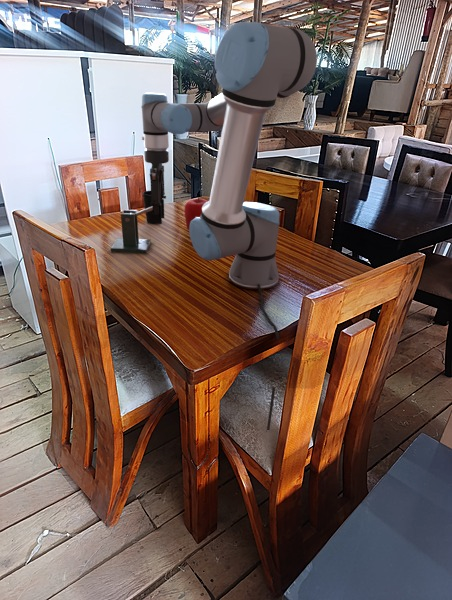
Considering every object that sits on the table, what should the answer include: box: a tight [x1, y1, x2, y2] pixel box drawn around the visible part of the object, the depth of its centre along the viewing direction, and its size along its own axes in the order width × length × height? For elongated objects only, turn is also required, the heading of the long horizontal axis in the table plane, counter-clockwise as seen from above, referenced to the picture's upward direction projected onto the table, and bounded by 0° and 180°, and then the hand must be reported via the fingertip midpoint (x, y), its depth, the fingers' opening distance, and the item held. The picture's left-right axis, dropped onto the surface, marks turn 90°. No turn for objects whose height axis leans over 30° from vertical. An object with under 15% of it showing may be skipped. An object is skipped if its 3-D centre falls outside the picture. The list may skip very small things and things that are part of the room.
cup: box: [142, 190, 154, 225], centre depth 163 cm, size 8×8×12 cm
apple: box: [183, 197, 209, 231], centre depth 154 cm, size 10×10×14 cm
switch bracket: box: [110, 209, 152, 255], centre depth 137 cm, size 12×10×13 cm
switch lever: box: [128, 202, 162, 217], centre depth 134 cm, size 13×6×2 cm, turn 90°
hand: (159, 220), depth 136 cm, fingers closed on switch lever, 5 cm apart
